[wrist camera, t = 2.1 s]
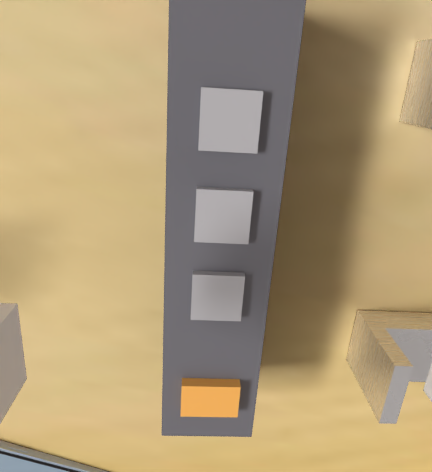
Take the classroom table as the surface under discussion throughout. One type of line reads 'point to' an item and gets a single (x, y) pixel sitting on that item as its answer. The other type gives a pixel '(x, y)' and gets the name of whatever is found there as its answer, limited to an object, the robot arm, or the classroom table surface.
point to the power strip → (223, 202)
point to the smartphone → (36, 461)
